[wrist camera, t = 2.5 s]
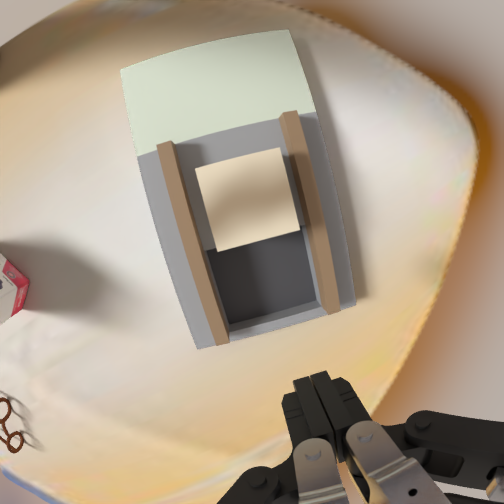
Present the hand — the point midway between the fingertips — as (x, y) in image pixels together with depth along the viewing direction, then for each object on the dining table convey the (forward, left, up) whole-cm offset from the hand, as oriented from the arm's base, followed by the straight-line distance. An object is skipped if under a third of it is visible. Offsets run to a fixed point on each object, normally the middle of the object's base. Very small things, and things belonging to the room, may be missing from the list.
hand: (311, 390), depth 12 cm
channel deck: (-9, 0, -17) cm, 19 cm away
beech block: (-8, 0, -15) cm, 17 cm away
